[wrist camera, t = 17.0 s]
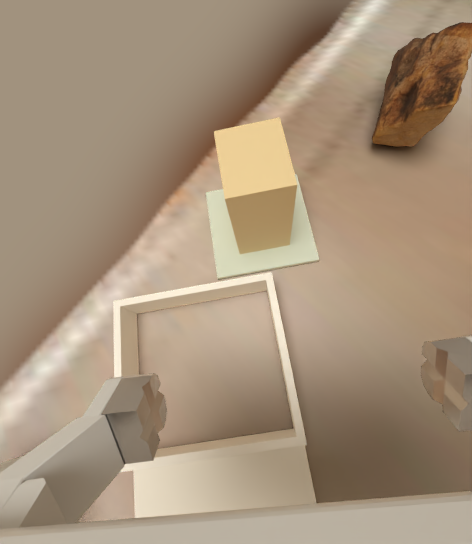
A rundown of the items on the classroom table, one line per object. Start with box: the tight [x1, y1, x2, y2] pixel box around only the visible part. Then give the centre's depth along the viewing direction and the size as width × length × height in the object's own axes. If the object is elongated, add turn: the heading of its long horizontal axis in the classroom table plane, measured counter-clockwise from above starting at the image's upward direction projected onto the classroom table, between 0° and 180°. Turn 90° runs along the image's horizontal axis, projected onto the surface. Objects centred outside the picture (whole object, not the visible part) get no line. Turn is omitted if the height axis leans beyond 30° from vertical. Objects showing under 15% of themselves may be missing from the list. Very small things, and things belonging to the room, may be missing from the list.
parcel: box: [214, 117, 297, 254], centre depth 26 cm, size 5×6×10 cm
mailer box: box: [113, 272, 316, 518], centre depth 23 cm, size 14×26×4 cm, turn 9°
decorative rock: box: [372, 22, 472, 147], centre depth 28 cm, size 12×6×11 cm, turn 158°
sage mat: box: [206, 174, 319, 280], centre depth 31 cm, size 10×10×1 cm
